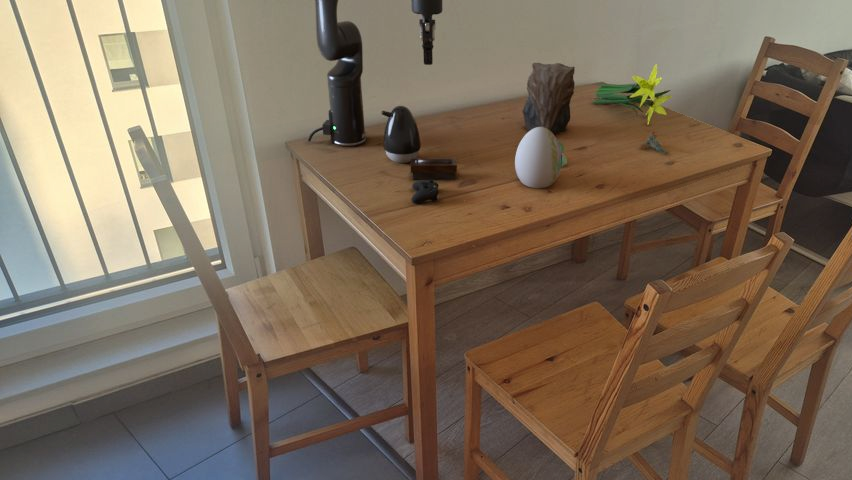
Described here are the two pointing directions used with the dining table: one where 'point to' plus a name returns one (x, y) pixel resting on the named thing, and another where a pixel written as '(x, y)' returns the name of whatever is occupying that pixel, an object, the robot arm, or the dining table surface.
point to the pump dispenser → (401, 135)
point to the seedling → (564, 159)
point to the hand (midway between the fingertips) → (428, 59)
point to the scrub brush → (433, 168)
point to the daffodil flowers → (638, 89)
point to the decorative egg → (538, 158)
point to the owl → (549, 97)
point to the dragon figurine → (652, 142)
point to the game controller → (425, 191)
